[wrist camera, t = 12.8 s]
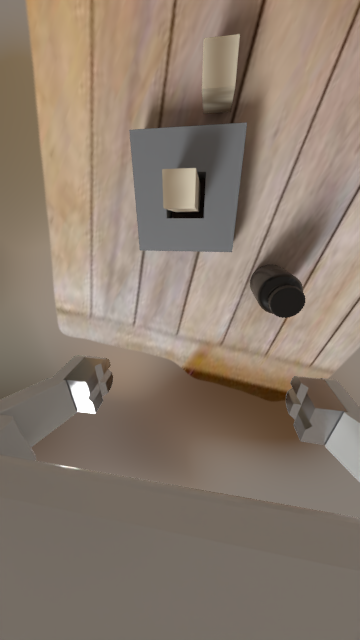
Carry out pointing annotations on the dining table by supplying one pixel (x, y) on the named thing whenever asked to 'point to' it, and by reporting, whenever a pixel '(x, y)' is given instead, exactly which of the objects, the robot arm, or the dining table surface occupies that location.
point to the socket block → (211, 164)
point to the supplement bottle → (277, 291)
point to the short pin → (219, 72)
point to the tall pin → (181, 190)
